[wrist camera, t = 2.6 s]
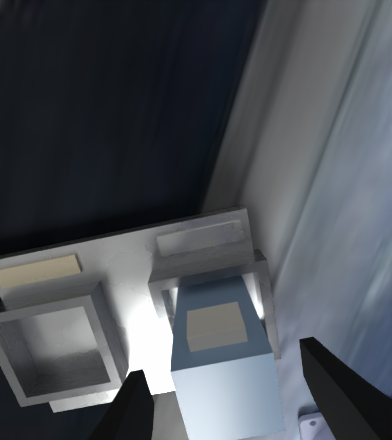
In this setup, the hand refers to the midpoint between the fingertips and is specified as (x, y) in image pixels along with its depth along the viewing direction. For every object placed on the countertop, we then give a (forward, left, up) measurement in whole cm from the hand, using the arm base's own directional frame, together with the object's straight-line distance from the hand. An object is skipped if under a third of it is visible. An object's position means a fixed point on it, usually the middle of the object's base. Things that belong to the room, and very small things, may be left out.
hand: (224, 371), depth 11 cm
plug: (0, 0, -5) cm, 5 cm away
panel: (+5, 0, -6) cm, 8 cm away
